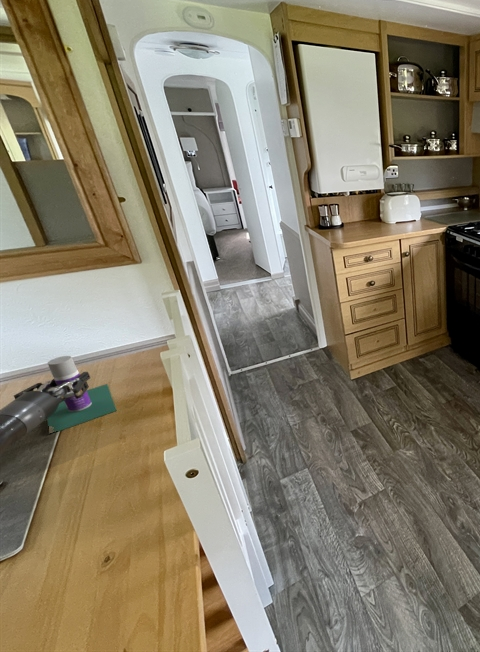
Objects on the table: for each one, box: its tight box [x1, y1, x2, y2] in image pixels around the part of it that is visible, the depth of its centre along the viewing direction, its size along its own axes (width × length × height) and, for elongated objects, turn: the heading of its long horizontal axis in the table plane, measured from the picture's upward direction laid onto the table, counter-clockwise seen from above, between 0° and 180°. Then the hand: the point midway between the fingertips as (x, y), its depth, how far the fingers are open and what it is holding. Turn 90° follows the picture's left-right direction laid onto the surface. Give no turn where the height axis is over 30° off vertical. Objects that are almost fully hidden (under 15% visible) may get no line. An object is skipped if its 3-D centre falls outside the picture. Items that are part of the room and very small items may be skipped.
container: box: [47, 355, 92, 412], centre depth 102 cm, size 5×5×15 cm
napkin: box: [46, 383, 117, 433], centre depth 105 cm, size 18×13×1 cm
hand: (75, 375), depth 104 cm, fingers closed on container, 4 cm apart
